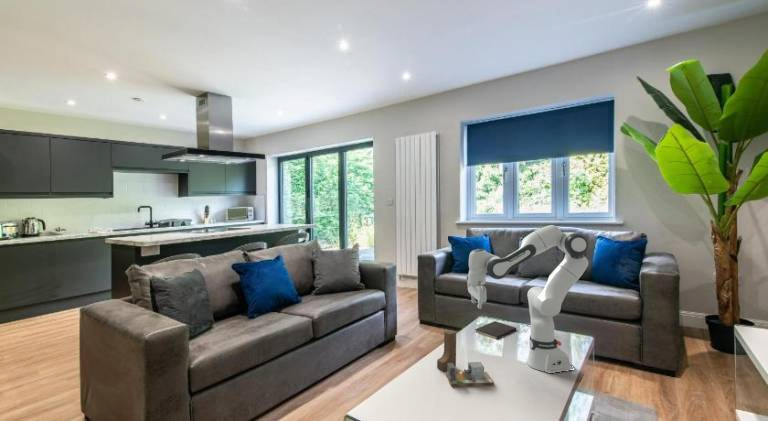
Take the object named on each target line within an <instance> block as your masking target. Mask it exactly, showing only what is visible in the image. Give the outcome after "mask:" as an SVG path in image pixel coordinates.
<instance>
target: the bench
mask: <svg viewBox="0 0 768 421" xmlns="http://www.w3.org/2000/svg"><path fill="white" fill-rule="evenodd" d="M456 368H457V367H455V366H454V364H453V363H448V368H447V370H446V373H445V376H446V379H447V381H448V383H449V385H450V386H451V388H457V387H458V388H459V387H465V388H466V387H488V386H489V387H492V386H495V381H494V380H493V378H492V377H491V376H490V374H489V373H488V371H484V380H475V382H473V381H472V380H471V378H470V377H469V375H468V373H465V372H464V371H461V372H462V382H460V381H459V372H460V371H459V372H456Z"/></svg>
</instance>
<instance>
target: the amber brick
mask: <svg viewBox="0 0 768 421" xmlns="http://www.w3.org/2000/svg"><path fill="white" fill-rule="evenodd" d="M462 372H463V371H459V381H460V382H462Z"/></svg>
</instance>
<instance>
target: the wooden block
mask: <svg viewBox="0 0 768 421" xmlns="http://www.w3.org/2000/svg"><path fill="white" fill-rule="evenodd" d="M443 334H444V335H443V338H444V339H443V354H442V355H441V357H439V358H437V360H436V362H437V363H436V369H438V370H439V371H442V372H447V368H448V363H453V364H454V366H455V368H457V364H456V363H457V332H456V331H454V330H451V329H450V330H446V331H444V333H443Z"/></svg>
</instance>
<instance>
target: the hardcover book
mask: <svg viewBox="0 0 768 421" xmlns="http://www.w3.org/2000/svg"><path fill="white" fill-rule="evenodd" d="M474 331H475V333H478V334H480V335H483V336H485V337H489V338H492V339H494V340H499V339H501V338H503V337H505V336H507V335H509V334H513V332H516V331H517V327H515V326H512V325H508V324H506V323H505V324H504V323H502V322H499V321H496V320H494V321H491V322H489V323H487V324H484V325H482V326H479V327H477V328H475V329H474Z"/></svg>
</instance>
